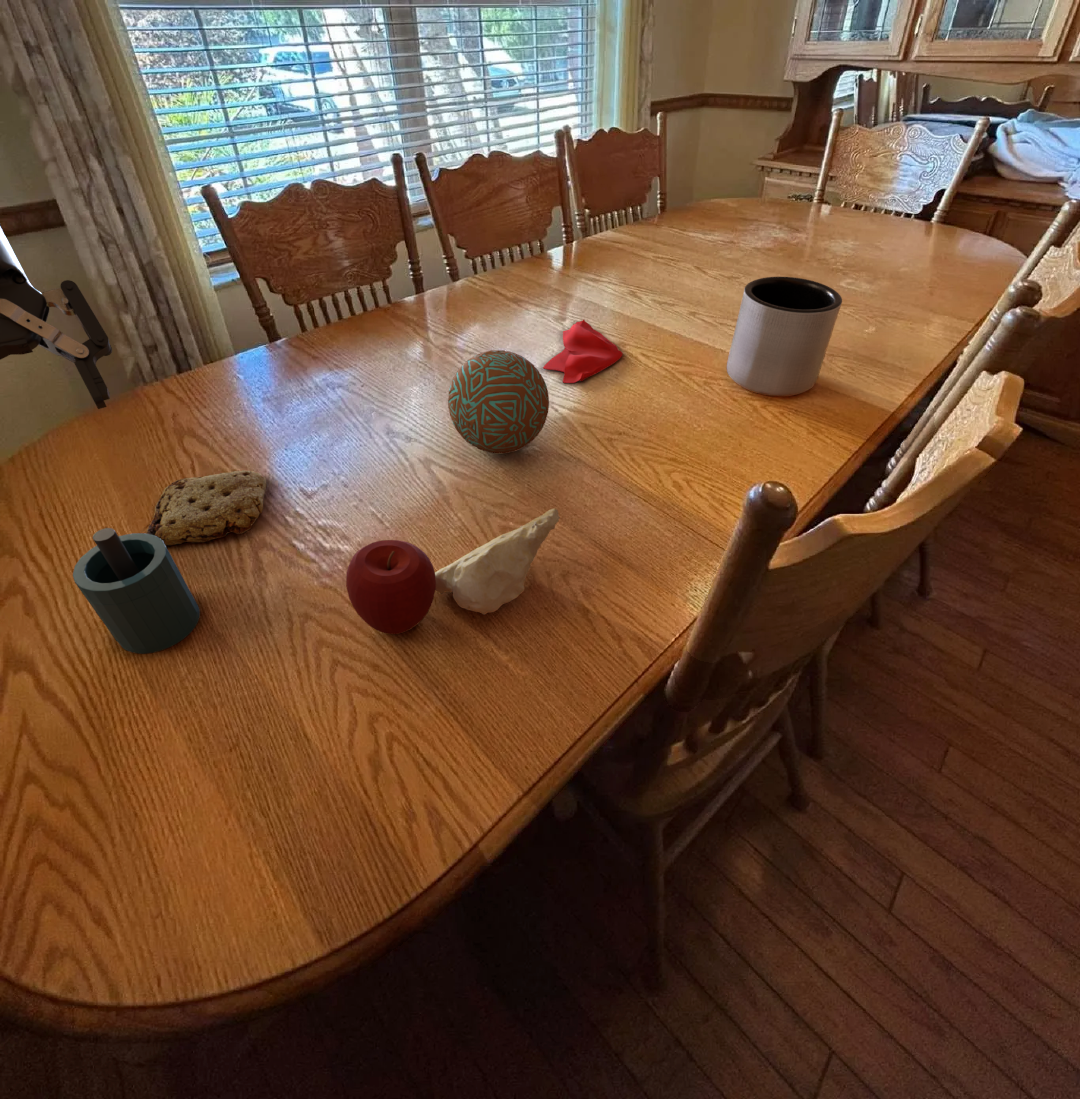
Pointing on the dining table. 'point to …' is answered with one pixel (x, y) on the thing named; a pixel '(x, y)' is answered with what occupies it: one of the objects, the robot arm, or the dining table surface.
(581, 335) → the cloth
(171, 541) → the pastry
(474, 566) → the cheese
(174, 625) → the crock
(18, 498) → the dining table surface
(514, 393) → the decorative sphere
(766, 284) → the planter
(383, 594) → the apple
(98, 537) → the t-shaped mushroom stamp
